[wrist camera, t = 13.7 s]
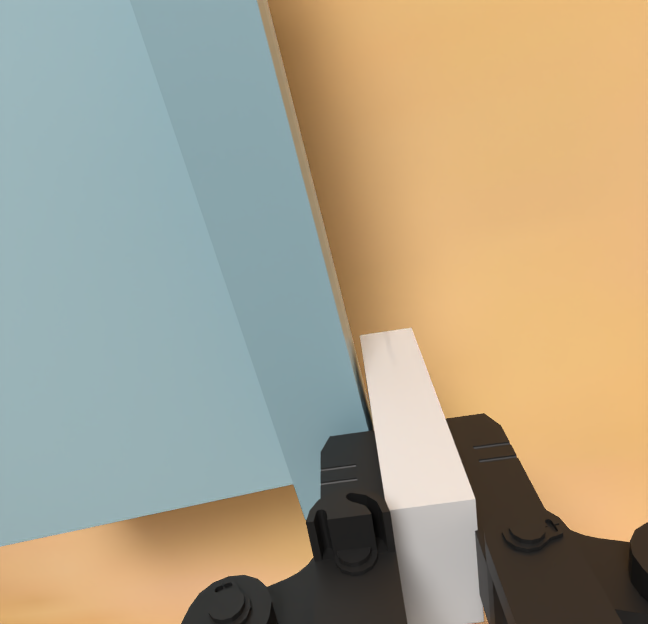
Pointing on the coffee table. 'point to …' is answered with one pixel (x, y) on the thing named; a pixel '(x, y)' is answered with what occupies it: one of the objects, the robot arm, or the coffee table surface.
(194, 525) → the coffee table surface
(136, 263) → the cover
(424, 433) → the robot arm
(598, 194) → the coffee table surface
